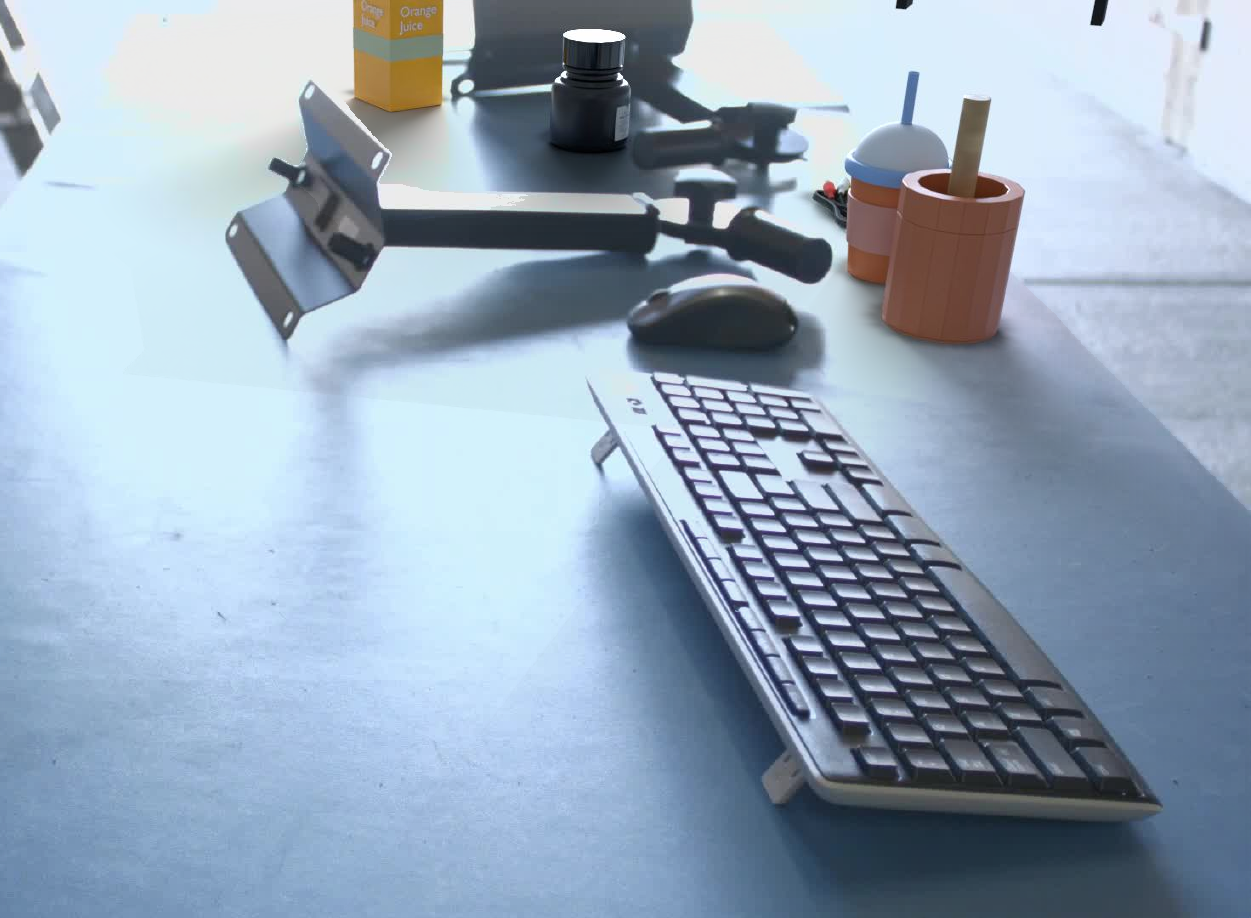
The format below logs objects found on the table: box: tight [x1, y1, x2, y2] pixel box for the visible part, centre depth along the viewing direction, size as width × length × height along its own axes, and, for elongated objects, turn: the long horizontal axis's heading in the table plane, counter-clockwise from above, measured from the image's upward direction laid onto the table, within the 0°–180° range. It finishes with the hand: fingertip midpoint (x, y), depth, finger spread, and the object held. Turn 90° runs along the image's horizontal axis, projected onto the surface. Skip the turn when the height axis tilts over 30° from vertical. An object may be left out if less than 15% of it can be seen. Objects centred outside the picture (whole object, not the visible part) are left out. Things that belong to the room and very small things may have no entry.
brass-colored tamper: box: [947, 93, 992, 198], centre depth 119 cm, size 4×4×18 cm
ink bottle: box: [548, 29, 632, 152], centre depth 170 cm, size 10×9×12 cm
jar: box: [880, 169, 1026, 345], centre depth 121 cm, size 9×9×12 cm
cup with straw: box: [844, 70, 953, 285], centre depth 130 cm, size 9×9×18 cm
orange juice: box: [352, 0, 444, 113], centre depth 184 cm, size 8×9×20 cm
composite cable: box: [811, 177, 851, 229], centre depth 150 cm, size 10×5×2 cm, turn 168°
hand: (998, 15), depth 112 cm, fingers open, 13 cm apart
